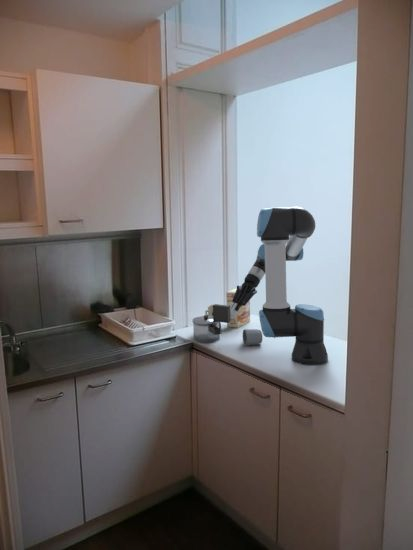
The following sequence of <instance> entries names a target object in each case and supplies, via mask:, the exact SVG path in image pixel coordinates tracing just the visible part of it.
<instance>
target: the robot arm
mask: <svg viewBox="0 0 413 550" xmlns="http://www.w3.org/2000/svg"><path fill="white" fill-rule="evenodd" d="M257 218H258V219H257V224H256V236H257V238H260V242H261V243H262V244H260V245H259V247H258V249H257V255H256V259H255V261H254V263H253V265H252V266H251V268H250V269H249V271H248V274H246V275H245V277H244V280H243V281H244V282H243V283H242V284H241V285H236V288H237V290H236V292H235V295H234V297H233V300H232V301H233V302H234V304H233V306H232V307H231V310H230V314H231V317H234V315H235V314H236V312H237V311H238V310H239V308H240V307H241V306H242V305H243V306H245V305H246V304H247V302H248V301H249V300H251V299H252V297H253V296H255V295H256V294H257V293H258V290H257V289H256V288H258V286H259V285H260V283H261V281H262V279H263V278H264V276H265V302H264V303H263V304H262V309H260V310H259V311H258V316H259V322H260V330H261V332H262V336H264V337H265V338H274V339H276V338H289V337H293V338H294V337H295V342H294V345H293V349H292V352H291V361H293V362H294V363H295V364H299V365H304V366H318V365H319V366H320V365H323V364H325V363H327V362H328V361H329V359H328V357H329V356H328V352H327V349H326V346H325V343H324V341H325V340H324V327H325V325H324V324H325V317H324V310H323V309H322V307H321V308H320V307H319V306H315V305H311V304H306V303H305V304H304V303H303V304H300V303H299V304H296V305H295V306H294V308H291V304H290V303H289V302H288V301H287V300H288V299H287V263H286V262H291V261H292V262H298V261H302V260H303V259H304V245H305V244H306V242H307V240H308V239H309V238H310V237H311V236H312V235H313V233H315V230H316V220H315V218H314V217H313V215H312V214H311V213H310V212H309V211H308V210H306V209H305V208H303V207H300V206H291V207H289V206H288V207H266V208H262V209H260V211H259V213H258V216H257Z"/></svg>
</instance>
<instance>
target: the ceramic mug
mask: <svg viewBox="0 0 413 550" xmlns="http://www.w3.org/2000/svg"><path fill="white" fill-rule="evenodd" d="M262 342H263V332H262V330H261V329H257V328H256V329H255V328H253V329H252V328H251V329H246V328H245V329H243V331H242V343H243V345H244V346H256V345H258V346H259V345H261V344H262Z"/></svg>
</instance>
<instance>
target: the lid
mask: <svg viewBox="0 0 413 550" xmlns="http://www.w3.org/2000/svg"><path fill="white" fill-rule="evenodd" d="M212 305H213V316H208V314H207V315H205V314H204V315H201V316H196V317H194V318H192V324H193V323H194V324H197V325H212V324H216V323H218V322H220V323H226V324H227V323H229V322H231V314H230V306H228V305H227V304H216V303H214V304H212Z"/></svg>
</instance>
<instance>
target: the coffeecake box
mask: <svg viewBox="0 0 413 550" xmlns="http://www.w3.org/2000/svg"><path fill="white" fill-rule="evenodd" d="M236 290H237V287H236V288H234V289H231V290H228V291H226V292H225V293H226V305H228V306H230V310H231V307H232V306H233V304H234V302H233V301H232V300H233V297H234V295H235V292H236ZM250 300H251V299H250ZM250 300H249V301H248V302H247V304H246V305H245V306H243V305H242V306H241V307H240V308H239V310H238V311H237V312H236V314H235V315H234V317H231V322H229V323H226V325H227V326H226V327H230V328H237V329H238V328H240V327H242V326H244V325H246V324H248V323H250V322H251V305H250V304H251V301H250Z"/></svg>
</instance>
